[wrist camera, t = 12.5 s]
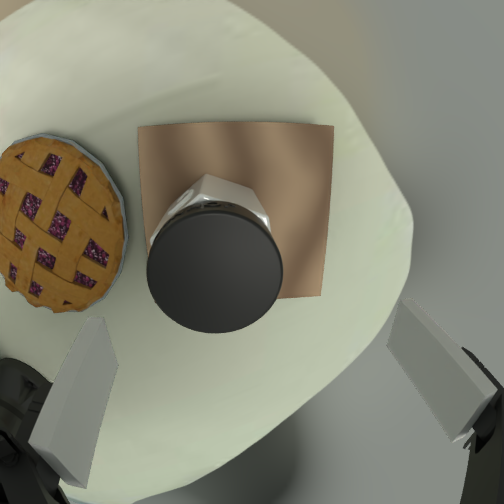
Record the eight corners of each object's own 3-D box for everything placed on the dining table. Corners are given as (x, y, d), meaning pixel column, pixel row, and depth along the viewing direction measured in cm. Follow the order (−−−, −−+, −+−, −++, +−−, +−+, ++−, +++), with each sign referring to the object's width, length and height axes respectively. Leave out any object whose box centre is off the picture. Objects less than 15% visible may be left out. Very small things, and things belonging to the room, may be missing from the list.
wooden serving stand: (161, 281, 36) (154, 303, 31) (149, 127, 29) (137, 127, 24) (308, 275, 38) (320, 295, 33) (317, 126, 31) (334, 125, 26)
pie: (103, 324, 38) (93, 347, 33) (-14, 255, 32) (-32, 269, 27) (165, 179, 32) (156, 188, 27) (21, 109, 25) (-2, 109, 21)
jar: (223, 155, 26) (227, 172, 15) (278, 220, 29) (315, 278, 18) (151, 219, 28) (113, 276, 17) (209, 277, 31) (206, 357, 20)
